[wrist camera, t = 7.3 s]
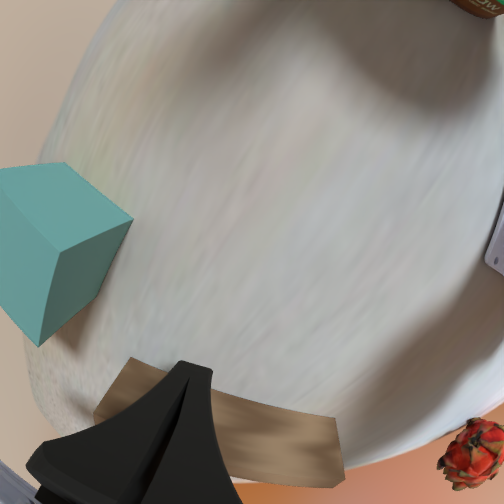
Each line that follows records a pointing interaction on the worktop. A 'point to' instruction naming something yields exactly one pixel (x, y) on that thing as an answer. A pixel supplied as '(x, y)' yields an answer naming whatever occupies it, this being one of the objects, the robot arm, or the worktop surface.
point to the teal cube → (53, 245)
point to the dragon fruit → (474, 454)
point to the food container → (481, 7)
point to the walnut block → (249, 433)
